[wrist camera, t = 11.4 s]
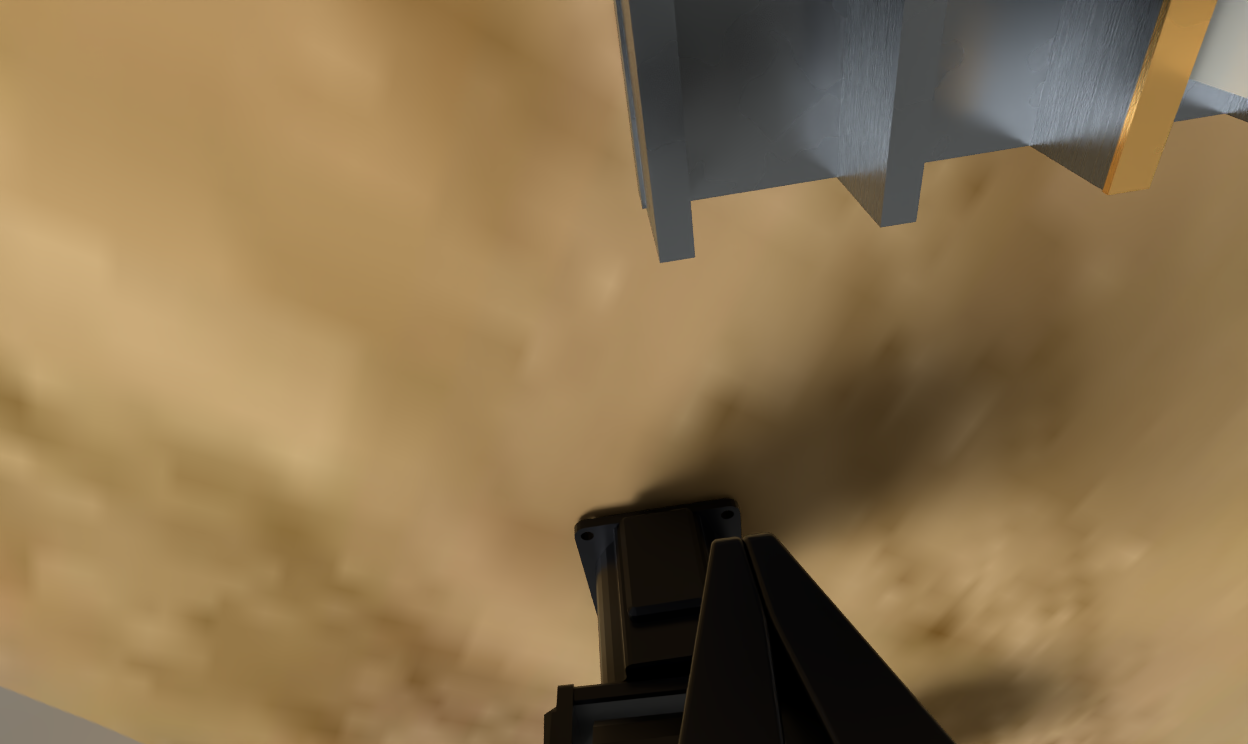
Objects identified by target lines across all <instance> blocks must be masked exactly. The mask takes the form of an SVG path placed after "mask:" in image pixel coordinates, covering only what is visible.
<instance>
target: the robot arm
mask: <svg viewBox="0 0 1248 744" xmlns="http://www.w3.org/2000/svg"><path fill="white" fill-rule="evenodd" d="M727 510H728V511H727ZM575 541H576V544H577V548H578V551H579V554H580V558H581V561H582V565H583V568H584V572H585V575H586V578H587V582H588V585H589V589H590V592H591V596H592V599H593V602H594V606H595V609H596V613H597V616H598V631H599V651H600V670H601V684H597V685H587V686H578V687H574V684H570V685H560V686H558V691H557V705H556V707H555V708H554V709H552V710H551V711H549V712H548V713H546V714H545V715H544V744H956V743H955V742H954V741H953V740H952V738H951V737H950V736H949V735H948V734H947V733H946V732H945V730H944V729H943V728H942V727H941V726H940V725H939V723H938V722H937V721H936V720H935V719H934V718H933V717H932V715H931V714H930V713H929V712H928V711H927V710H926V709H925V707H924V706H923V705H922V704H921V703H920V702H919V701H918V699H917V698H916V697H915V696H914V695H913V694H912V692H911V691H910V690H909V689H908V688H907V687H906V686H905V684H904V683H903V682H902V681H901V680H900V679H899V678H898V676H897V675H896V674H895V673H894V672H893V671H892V670H891V668H890V667H889V666H888V665H887V664H886V663H885V662H884V660H883V659H882V658H881V657H880V656H879V655H878V653H877V652H876V651H875V650H874V649H873V648H872V647H871V645H870V644H869V643H868V642H867V641H866V640H865V639H864V637H863V636H862V635H861V634H860V633H859V632H858V631H857V629H856V628H855V627H854V626H853V625H852V624H851V622H850V621H849V620H848V619H847V618H846V617H845V616H844V614H843V613H842V612H841V611H840V610H839V609H838V608H837V606H836V605H835V604H834V603H833V602H832V601H831V600H830V598H829V597H828V596H827V595H826V594H825V593H824V592H823V590H822V589H821V588H820V587H819V586H818V585H817V583H816V582H815V581H814V580H813V579H812V578H811V577H810V575H809V574H808V573H807V572H806V571H805V570H804V569H803V567H802V566H801V565H800V564H799V563H798V562H797V561H796V559H795V558H794V557H793V556H792V555H791V554H790V552H789V551H788V550H787V549H786V548H785V547H784V546H783V544H782V543H781V542H780V541H779V540H778V539H777V538H776V537H775V536H774V535H773V534H771V533H759V534H752V535H746V536H744V537H743V539H741V518H740V510H739V507H738V503H737V502H736V501H735V500H734V499H730V498H725V499H718V500H712V501H705V502H698V503H692V504H685V505H679V506H672V507H666V508H659V509H653V510H646V511H639V512H633V513H626V514H620V515H613V516H607V517H600V518H594V519H587V520H583V521H580V522H578V523H577V524H576V525H575Z"/></svg>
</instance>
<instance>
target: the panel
mask: <svg viewBox="0 0 1248 744" xmlns="http://www.w3.org/2000/svg"><path fill="white" fill-rule="evenodd" d="M1189 79H1191V80H1194V81H1197V82H1200V83H1203V84H1206V85H1209V86H1212V87H1215V88H1218V89H1221V90H1224V91H1227V92H1230V93H1233V94H1236V95H1239V96H1241V97H1244V98H1247V99H1248V0H1217V3H1216V6H1215V9H1214V11H1213V14H1212V17H1211V20H1210V22H1209V25H1208V28H1207V31H1206V33H1205V36H1204V39H1203V42H1202V44H1201V47H1200V50H1199V53H1198V55H1197V58H1196V61H1195V64H1194V66H1193V69H1192V72H1191V75H1190V77H1189Z"/></svg>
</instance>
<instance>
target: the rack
mask: <svg viewBox="0 0 1248 744" xmlns="http://www.w3.org/2000/svg"><path fill="white" fill-rule="evenodd" d="M1216 3H1217V0H614V8H615V15H616V23H617V30H618V38H619V46H620V53H621V61H622V69H623V76H624V84H625V91H626V99H627V107H628V114H629V122H630V129H631V137H632V145H633V152H634V160H635V167H636V175H637V183H638V190H639V196H640V200H641V204H642V209H644V208H646V209H647V213H648V217H649V221H650V225H651V229H652V233H653V237H654V241H655V245H656V249H657V253H658V257H659V261H660V263H663V262H669V261H675V260H682V259H688V258H694V257H695V251H694V238H693V226H692V214H691V202H690V201H693V200H699V199H705V198H711V197H717V196H723V195H730V194H736V193H742V192H748V191H754V190H760V189H766V188H772V187H778V186H785V185H791V184H797V183H803V182H809V181H815V180H821V179H827V178H833V177H837V178H838V179H839V180H840V182H841V183H842V184H843V185H844V186H845V187H846V188H847V190H848V191H849V192H850V193H851V194H852V195H853V196H854V198H855V199H856V200H857V201H858V202H859V203H860V205H861V206H862V207H863V208H864V209H865V210H866V211H867V213H868V214H869V215H870V216H871V217H872V218H873V219H874V221H875V222H876V223H877V224H878V225H879V226H880V227H886V226H892V225H898V224H905V223H911V222H916V219H917V211H918V204H919V197H920V190H921V183H922V176H923V169H924V163H925V162H931V161H937V160H944V159H950V158H956V157H962V156H968V155H974V154H980V153H986V152H993V151H999V150H1005V149H1011V148H1017V147H1023V146H1031V147H1033V148H1034V149H1036V150H1038V151H1039V152H1041V153H1043V154H1044V155H1046V156H1047V157H1049V158H1051V159H1052V160H1054V161H1056V162H1057V163H1059V164H1061V165H1062V166H1064V167H1065V168H1067V169H1069V170H1070V171H1072V172H1074V173H1075V174H1077V175H1079V176H1080V177H1082V178H1084V179H1085V180H1087V181H1088V182H1090V183H1092V184H1093V185H1095V186H1097V187H1098V188H1100V189H1102V190H1103V191H1102V192H1104V193H1105V194H1107V195H1112V194H1118V193H1125V192H1131V191H1137V190H1143V189H1149V188H1150V185H1151V182H1152V179H1153V177H1154V174H1155V171H1156V168H1157V166H1158V163H1159V160H1160V157H1161V155H1162V152H1163V149H1164V146H1165V144H1166V141H1167V138H1168V135H1169V133H1170V130H1171V127H1172V124H1173V122H1176V121H1182V120H1188V119H1194V118H1200V117H1207V116H1213V115H1219V114H1227V115H1230V116H1233V117H1235V118H1238V119H1241V120H1243V121H1246V122H1248V99H1247V98H1244V97H1241V96H1239V95H1236V94H1233V93H1230V92H1227V91H1224V90H1221V89H1218V88H1215V87H1212V86H1209V85H1206V84H1203V83H1200V82H1197V81H1194V80H1191V79H1189V77H1190V75H1191V72H1192V69H1193V66H1194V64H1195V61H1196V58H1197V55H1198V53H1199V50H1200V47H1201V44H1202V42H1203V39H1204V36H1205V33H1206V31H1207V28H1208V25H1209V22H1210V20H1211V17H1212V14H1213V11H1214V9H1215V6H1216Z"/></svg>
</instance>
